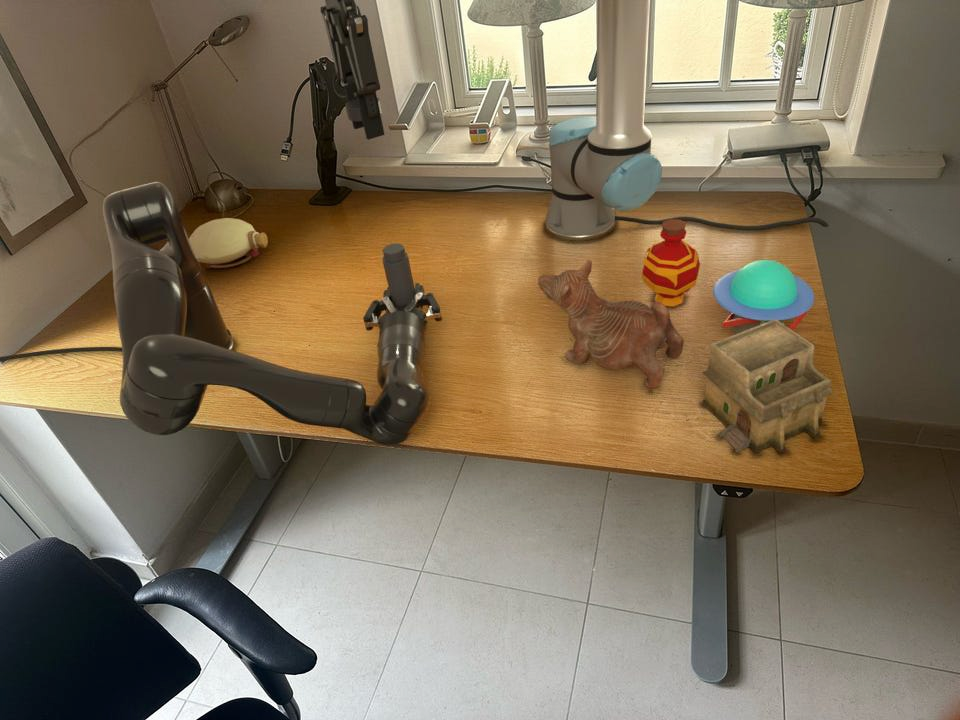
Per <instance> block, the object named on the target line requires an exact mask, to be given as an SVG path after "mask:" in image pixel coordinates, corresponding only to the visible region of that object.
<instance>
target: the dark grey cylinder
mask: <svg viewBox="0 0 960 720" xmlns="http://www.w3.org/2000/svg"><path fill="white" fill-rule="evenodd" d="M381 252H382V254H383V256H382V259H381V260H382V261H381V262H382V265H383V269H384V273H385V278H386V282H387V287H389V291H390V295H391V300H392V303H393V305H394V306H404V305H408V304H409V302H410V301H411V299H412V298H414V297H415V282H414V279H413V278H414V277H413V273H412V268H411V263H410V259H409V254H408V253H407V252H406V249H405V247H404V245H403V244H401V243H390V244H388V245H386V246H384V247H383V249H382V250H381Z"/></svg>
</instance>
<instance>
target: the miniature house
mask: <svg viewBox="0 0 960 720" xmlns="http://www.w3.org/2000/svg"><path fill="white" fill-rule="evenodd" d="M784 324H785V323H784ZM784 324H782V323H781V322H779V321H778V320H776V319H774V320H772V321H769V322H766V323H764V324H761V325H759V326H756V327H754V328H751V329H748V330H746V331H743V332H741V333H738V334H736V335H735V334H733V335H731V336H727V337H726V338H723V339H720V340H718V341H715V342H713V343H710V348H709V357H708V364H707V369H706V370H704V371H702V375H704V376H705V377H706V383H705V392H704V398H703V399H702V405H703V407H705V409H707V410H708V411H709V412H710V413H711V414H712V415H713V416H714V417H715V418H716V419H717V420H719V421H720V422H721V423H722V424H723V425H724V426H725V427H726V428H725V429H724V430H723V431H721V432H720V433H718V434H719V435H718V436H719V437H720V438H722V437H723V439H724V440H726V441H727V442H728V443H729V444H730V445H731V446H732V447H733V448H734V452H735V453H738V452H739V451H742V450H744V449H747V448H749V449H750V450H752V452H753V453H755V454H756V453H760V452H762V451H764V450H766V449H769V448H773V449H774V450H775V451H776V452H778V453H779V454H780V455H782V454H784V453H785V452H786V451H787V447H786V443H785V441H786V440H788V439H791V438H793V437H796V436H798V435H800V434H802V433H806V434H807V435H809V436H810V437H812V438H813V439H817V438H819V437H820V435H821V432H820V430H819V429H820V428H819V426H820V425H822V424H823V414H824V411H825V407H826V403H827V399H828V396H830V395H833V394H834V393H835V390H833V389H832V387H831V386H832V385H831V384H832V380H831V378H828V377H827V376H826V375H824V373H821V372H820V371H819V370H818V369H817V368H816V367H815V365H814V354H815V345H814V344H813V343H812V342H810V341H808V340H807V339H805V338H804V337H803V336H802V335H800V334H798V333H797V332H795V331H794V330H793V331H792V330H791V329H790V328H788V326H787V325H784Z"/></svg>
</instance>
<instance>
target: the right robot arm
mask: <svg viewBox="0 0 960 720" xmlns="http://www.w3.org/2000/svg"><path fill="white" fill-rule="evenodd" d="M324 3H325V5H322V6H320V10H319V11H320V14H321V16H322V19H323V21H324V25H325V31H326V35H327V38H328V43H329V47H330V51H331V57H332V59H333V65H334V68H335V74H336V76H337V78H340V81H341V83H342V84H343V89H344V93H345V98H346V103H347V102H349V101H351V100H353V99H356V98H357V99H358V103H359V108H360V112H361V117H362V121H359V122H357V121H351V123H352V127H353V129H354V130H358V129H362V128H363V129H364V133H365V138H366V140H368V141H369V140H372V139H375V138H379V137H382V136H385V130H384V125H383V120H382V116H381V115H382V114H381V115H380V110H379V105H378V101H377V98H378V96H377V91H380V90H381V84H380V80H379V75H378V70H377V66H376V60H375V56H374V52H373V47H372V46H373V45H372V43H371V42H372V41H371V38H370V33H369V32H370V31H369V20H368V17H367V16H366V14H362V13H361V10H360V7H359V6H358V5H357V3H356V0H324ZM596 3H597V4H596V5H597V9H596V10H597V11H596V12H597V13H596V92H595V93H596V95H595V96H596V97H595V105H596V106H595V116H593V115H592V116H580V117H573V118H570V119H569V118H568V119H566V120H563V121H560V122H558V123H556V124H555V125H554V126H552V128H551V129H550V131H549V138H548V139H549V141H548V147H549V158H550V174H551V175H550V176H551V188H552V189H551V190H552V191H551V193H552V194H551V198H550V202H549V206H548V209H547V213H546V216H545V229H546V232H547V233H548V234H549V236H550V235H551V236H552V237H553V238H556V239H558V240H561V241H567V242H586V241H587V242H588V241H594V240H597V239H600V238H604V237H605V236H607V235H608V234H610V233H611V232H613V230H614V229H615V227H616V223H617V221H621V222H629V223H637V224H642V225H648V226H649V225H650V226H658V225H662V224H663V222H664V221H667V220H670V219H676V220H682V221H683V222H691V223H697V224H701V225H705V226H709V227H713V228H719V229H726V230H734V231H746V232H747V231H750V232H751V231H764V230H765V231H766V230H770V229H774V228H775V229H776V228H781V227H788V226H789V227H790V226H795V225H801V224H806V223H816V224H819V225H820V226H822V227H824V228H829V223H827V222H826V221H825V220H824V219H822V218H819V217H814V216H813V217H812V216H811V217H810V216H809V217H803V218H798V219H792V220H784V221H777V222H772V223H766V224H759V225H741V224H740V225H739V224H730V223H724V222H723V223H722V222H716V221H711V220H708V219H704V218H699V217H695V216H674V217H669V218H664V219H644V218H639V217H631V216H623V215H616V212H615V210H616V211H619V212H632V211H635V210H637V209H638V208H640V207H642V206H644V205H645V204H646V203H647V202H648V201H649V200H650V199H651V197H652V196H653V195H654V194H655V193H656V192H657V189H658V188H659V186H660V184H661V180H662V176H663V166H662V163H661V161H660V160H659V159H658V158H657V156H656V155H655V154H652V152H651V151H652V150H651V149H652V132H651V130H649V129H648V128H647V127H646V125H645V106H646V105H645V104H646V86H647V65H648V46H649V30H650V29H649V27H650V10H651V9H650V8H651V7H650V6H651V0H597V2H596Z"/></svg>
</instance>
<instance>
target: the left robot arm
mask: <svg viewBox="0 0 960 720" xmlns="http://www.w3.org/2000/svg"><path fill="white" fill-rule="evenodd" d="M102 214H103V215H102V216H103V220H104V226H105V229H106V234H107V237H108V238H107V239H108V242H109V246H110V247H109V248H110V252H111V254H110V255H111V264H112V265H111V266H112V287H113V300H114V305H115V311H116V319H117V327H118V334H119V337H120V338H119V339H120V343H121V346H87V347H84V346H83V347H69V348H57V349H48V350H46V349H45V350H38V351H31V352H24V353H17V354H10V355H3V356H0V362H4V361H11V360H19V359H24V358H32V357H38V356H47V355H57V354H69V353H86V352H87V353H88V352H121V353H122V372H121V382H120V391H119V404H120V408H121V410H122V412H123V414H124V415H125V417H126V418H127V420H128V421H129V422H130V423H131V424H132V425H134V426H135V427H136V428H138V429H139V430H141V431H143V432H145V433H148V434H150V435H157V436H168V435H173V434H176V433H178V432H180V431H182V430H184V429H185V428H187V426H189V425H190V424H191V423H192V421H194V419H195V417H196V416H197V414H198V413H199V410H200V409H201V405H202V403H203V400H204V397H205V395H206V391H207V389H208V386H220V387H228V388H234V389H238V390H241V391H244V392H246V393H248V394H250V395H251V396H253V397H255V398H257V399H258V400H260V401H261V402H263V403H264V404H265V405H267V406H268V407H269V408H271V409H272V410H274V411H275V412H277V413H278V414H280V415H281V416H283V417H284V418H286V419H288V420H290V421H292V422H294V423H299V424H303V425H306V426H307V425H308V426H315V427H323V428H332V429H342V430H345V431H348V432H350V433H352V434H353V435H354V434H355V435H356V436H359V437H362V438H365V439H367V440H370V441H372V442H373V443H377V444H379V445H383V446H394V445H395V446H396V445H400V444H402V443H404V442H405V441H407V440H408V439H409V438H410V437H411V435H412V434H413V432H414V430H415V429H416V427H417V426H418V425H419V423H420V421H421V419H422V418H423V417H424V415H425V414H426V412H427V410H428V407H429V404H430V395H431V394H430V390H429V388H428V385H427V382H426V380H425V377H424V375H423V362H424V361H423V360H424V357H425V326H426V325H427V323H428V322H429V321H431V320H434V321H435V322H441V321H443V317H442V310H441V307H440V305H439V303H438V301H437V300H436V297H435V296H434V294H433V293H432V292H428V293H426V294H425V290H424V286H423V284H420V282H416V283H415V282H414V287H415V297H414V298H412V299H411V301H410V302H409V304H408V305H404V306H394V305H393V303H392V300H391V295H390V291H389V287H388V286H387V288H386V289H384V291H383V295H382V296H383V297H382V298H381V300H378V299H375V300H372V302H371V303H370V305H369V306H368V309H367V310H366V311H365V314H364V315H363V317H362V320H363V323H364V326H365V330H366V331H369V332H370V331H373V330H374V328H379V333H378V341H377V357H378V361H377V372H376V377H377V383H378V386H379V388H380V390H381V391H380V393H379V394H378V396H377V398H376V400H375V401H374V403H373V404H367V392H366V388H365V387H364V385H363V384H362V383H361V382H359V381H357V380H354V379H350V378H345V377H339V376H332V375H325V374H320V373H313V372H306V371H301V370H298V369H293V368H290V367H286V366H282V365H279V364H276V363H272V362H270V361H266V360H264V359H260V358H257V357H254V356H252V355H248V354H245V353H243V352H240V351H235V350H234V349H235V344H234V341H233V338H232V337H233V336H232V333H231V331H230V330H229V328H227V326H226V323H225V321H224V319H223V316H222V313H221V311H220V309H219V306H218V304H217V302H216V300H215V297H214V295H213V292H212V290H211V288H210V286H209V283H208V281H207V279H206V276H205V274H204V272H203V269H202V267H201V265H200V262H198V260H197V258H196V255H195V253H194V251H193V249H192V246H191V244H190V241H189V237H188V233H187V231H186V229H185V226H184V223H183V220H182V218H181V215H180V212H179V209H178V206H177V203H176V200H175V199H174V196H173V195H172V192H171V191H170V189H169V188H168V187H167V186H166V184H164V182H161V181H153V182H148V183H145V184H141V185H137V186H133V187H129V188H125V189H122V190H118V191H114V192H112V193H110V194H109V195H107V196H105V198H104V199H103V201H102ZM164 241H166V243H165V244H164V245H163V246H162V247H161V248H160V249H158V248H156V247H154V246H151V245H152V244H153V245H154V244H156V243H159V242H164ZM425 306H427V307H428V309H427V312H425V311H424V308H425ZM383 312H385V313H384V314H382V313H383Z"/></svg>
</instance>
